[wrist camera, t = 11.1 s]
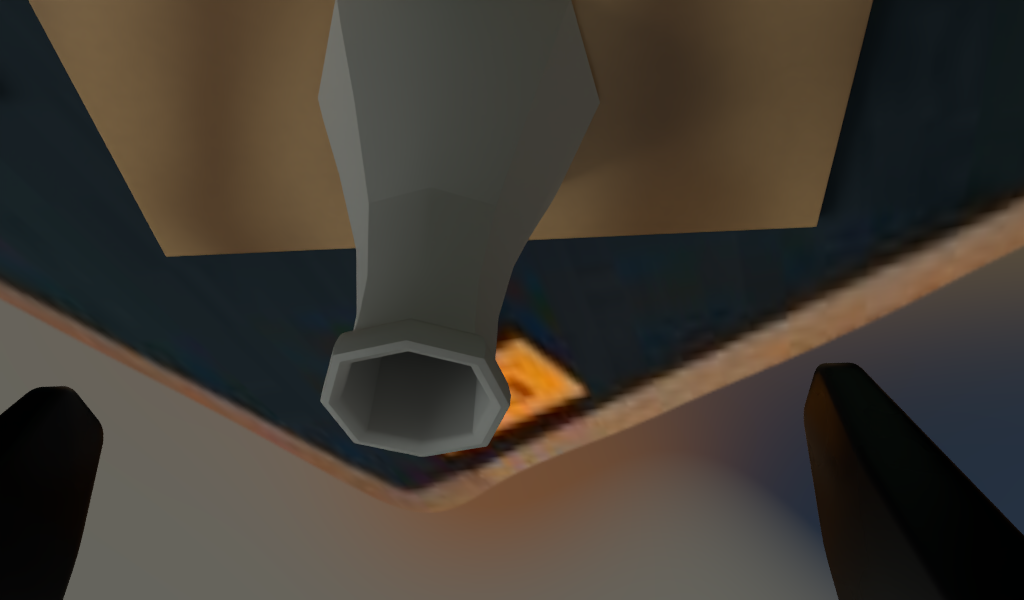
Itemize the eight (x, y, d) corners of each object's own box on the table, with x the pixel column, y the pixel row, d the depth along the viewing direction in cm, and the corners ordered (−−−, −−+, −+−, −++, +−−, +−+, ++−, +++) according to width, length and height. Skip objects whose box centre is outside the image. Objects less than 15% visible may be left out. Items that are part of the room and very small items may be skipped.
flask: (589, 207, 23) (610, 519, 16) (341, 202, 23) (250, 510, 16) (612, -47, 17) (660, 247, 10) (292, -51, 18) (125, 236, 11)
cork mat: (903, -157, 16) (911, -150, 16) (812, 216, 23) (817, 227, 23) (-2, -82, 18) (-13, -74, 17) (171, 247, 25) (165, 257, 24)
